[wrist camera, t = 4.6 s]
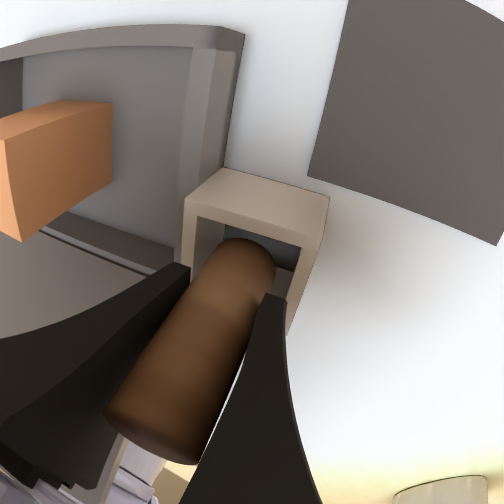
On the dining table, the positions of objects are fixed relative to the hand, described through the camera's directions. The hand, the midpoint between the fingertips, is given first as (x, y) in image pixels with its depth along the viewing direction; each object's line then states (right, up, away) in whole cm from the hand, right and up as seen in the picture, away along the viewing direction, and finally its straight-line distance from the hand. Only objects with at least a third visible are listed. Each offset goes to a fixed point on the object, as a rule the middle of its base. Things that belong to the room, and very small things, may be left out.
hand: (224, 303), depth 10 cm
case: (-5, +5, +5) cm, 9 cm away
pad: (+8, +7, -1) cm, 11 cm away
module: (-8, +7, +4) cm, 11 cm away
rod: (+1, +1, +2) cm, 2 cm away
